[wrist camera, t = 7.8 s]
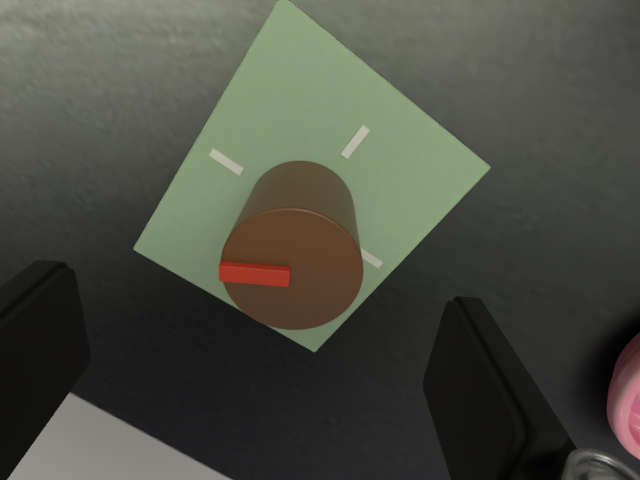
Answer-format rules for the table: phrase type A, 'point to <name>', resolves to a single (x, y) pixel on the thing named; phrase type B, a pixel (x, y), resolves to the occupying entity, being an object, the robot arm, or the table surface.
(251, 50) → the panel
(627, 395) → the saucer
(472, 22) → the table surface
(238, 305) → the knob
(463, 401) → the robot arm
